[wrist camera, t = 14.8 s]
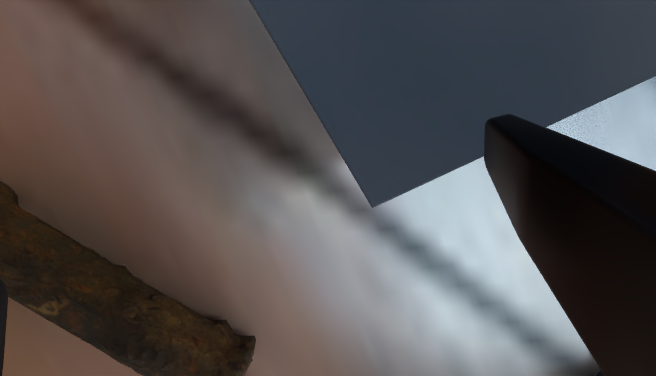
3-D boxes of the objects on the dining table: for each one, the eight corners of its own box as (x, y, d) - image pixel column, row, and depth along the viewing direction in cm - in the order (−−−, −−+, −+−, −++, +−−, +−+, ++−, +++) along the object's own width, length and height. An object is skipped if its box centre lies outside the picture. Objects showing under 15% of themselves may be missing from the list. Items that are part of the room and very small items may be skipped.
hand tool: (271, 329, 25) (244, 401, 21) (229, 377, 27) (196, 453, 23) (-80, 95, 23) (-190, 122, 19) (-104, 162, 25) (-210, 202, 20)
